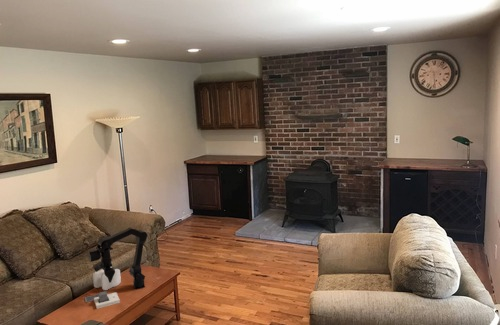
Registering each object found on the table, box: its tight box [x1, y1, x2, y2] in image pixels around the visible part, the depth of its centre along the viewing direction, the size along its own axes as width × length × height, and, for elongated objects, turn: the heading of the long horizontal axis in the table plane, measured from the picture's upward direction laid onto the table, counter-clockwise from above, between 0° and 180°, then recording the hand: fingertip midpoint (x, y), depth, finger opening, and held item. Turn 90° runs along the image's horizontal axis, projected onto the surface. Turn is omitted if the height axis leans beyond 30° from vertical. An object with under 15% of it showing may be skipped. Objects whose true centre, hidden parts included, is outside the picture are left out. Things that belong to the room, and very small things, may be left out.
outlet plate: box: [93, 292, 121, 310], centre depth 256 cm, size 14×12×2 cm
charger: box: [98, 290, 108, 303], centre depth 254 cm, size 5×4×6 cm
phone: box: [84, 291, 109, 303], centre depth 262 cm, size 7×14×1 cm, turn 117°
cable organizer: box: [92, 266, 122, 291], centre depth 277 cm, size 15×11×12 cm
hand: (108, 279), depth 261 cm, fingers open, 9 cm apart
